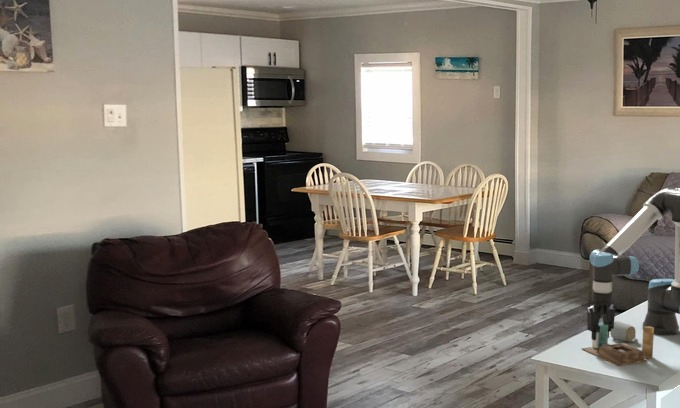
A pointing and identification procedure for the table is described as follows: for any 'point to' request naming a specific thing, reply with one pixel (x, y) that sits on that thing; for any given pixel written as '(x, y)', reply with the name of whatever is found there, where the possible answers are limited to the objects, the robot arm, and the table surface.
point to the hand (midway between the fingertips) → (599, 346)
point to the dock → (618, 354)
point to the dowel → (648, 341)
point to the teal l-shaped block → (604, 336)
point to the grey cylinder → (623, 332)
